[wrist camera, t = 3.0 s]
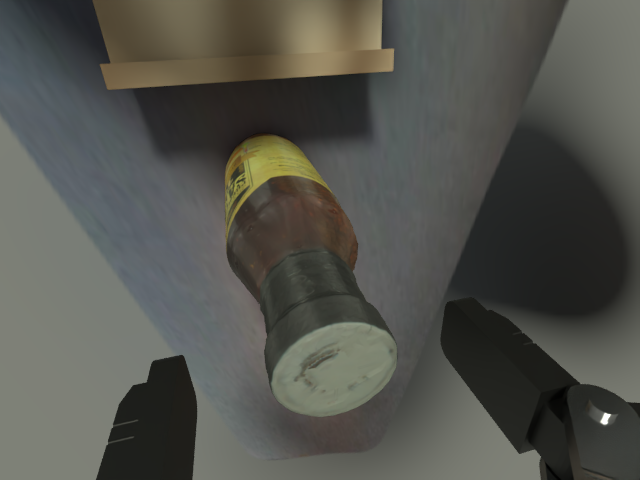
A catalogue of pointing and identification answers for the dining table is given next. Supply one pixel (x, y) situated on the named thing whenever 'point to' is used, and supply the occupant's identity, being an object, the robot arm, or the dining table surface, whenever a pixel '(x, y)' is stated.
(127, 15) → the wall board shelf
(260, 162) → the sauce bottle
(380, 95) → the dining table surface
